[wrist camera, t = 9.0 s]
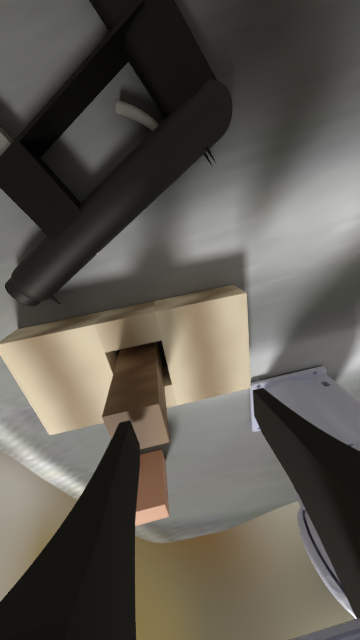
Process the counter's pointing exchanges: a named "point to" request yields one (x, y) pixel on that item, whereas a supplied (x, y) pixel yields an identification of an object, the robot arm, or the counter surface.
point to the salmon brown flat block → (152, 488)
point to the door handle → (138, 167)
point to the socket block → (123, 332)
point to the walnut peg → (138, 395)
